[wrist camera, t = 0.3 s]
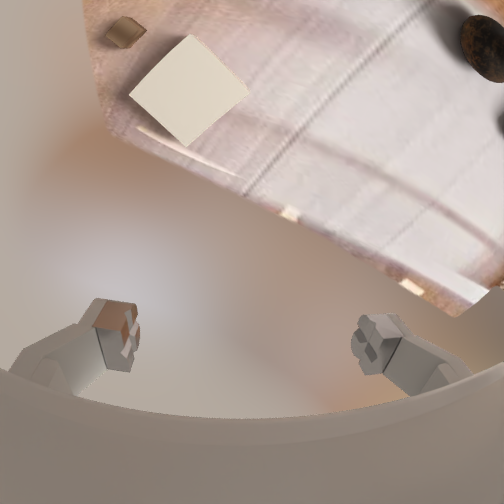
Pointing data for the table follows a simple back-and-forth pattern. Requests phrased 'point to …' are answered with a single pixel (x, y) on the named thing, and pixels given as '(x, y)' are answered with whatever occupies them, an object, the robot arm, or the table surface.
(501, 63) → the glass bottle
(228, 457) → the robot arm
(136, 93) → the plate
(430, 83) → the table surface
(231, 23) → the table surface
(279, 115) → the table surface
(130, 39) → the walnut cube
